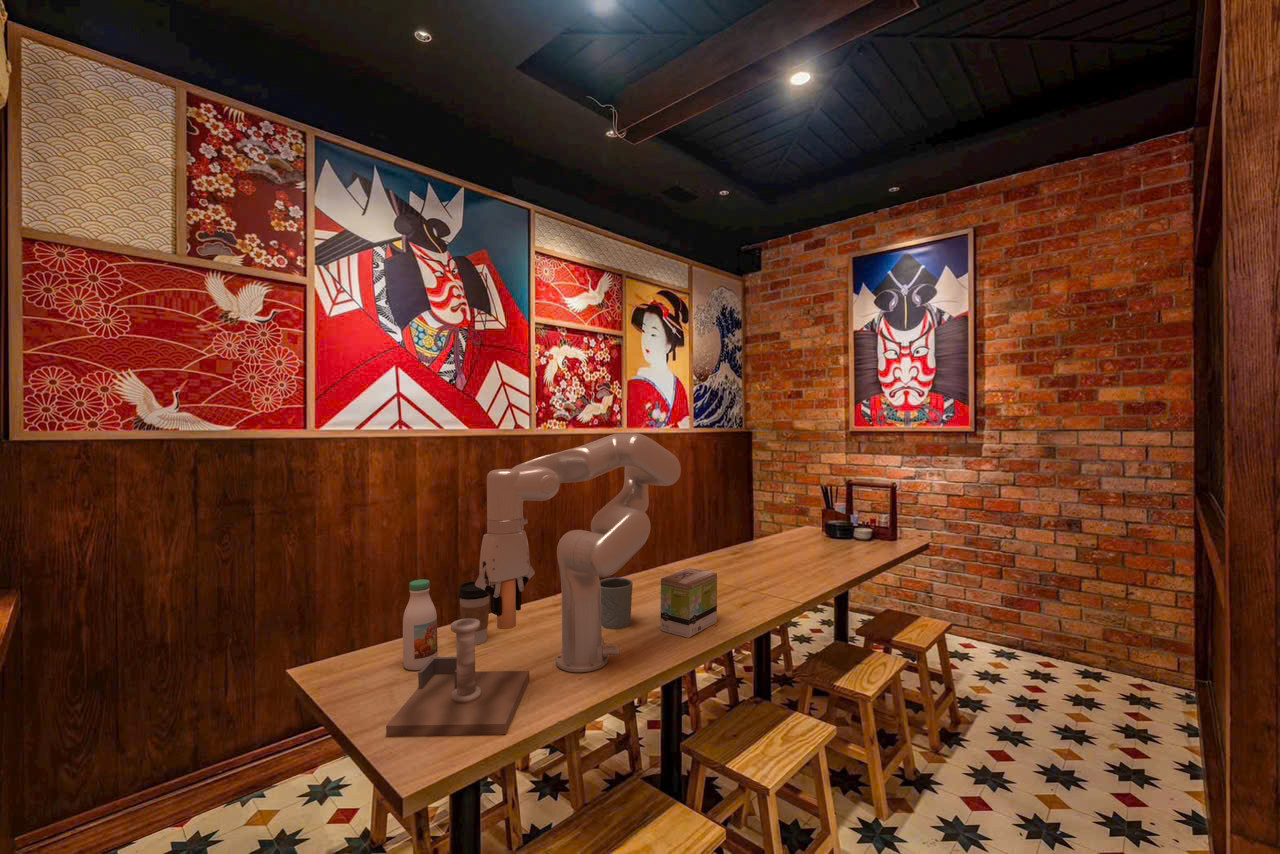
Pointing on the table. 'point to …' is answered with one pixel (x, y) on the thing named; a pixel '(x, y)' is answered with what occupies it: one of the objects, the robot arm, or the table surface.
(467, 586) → the coffee cup
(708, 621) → the tea box
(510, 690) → the board
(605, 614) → the grey green embossed cup
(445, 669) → the notch block
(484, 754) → the table surface
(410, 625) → the milk bottle
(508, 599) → the plug
